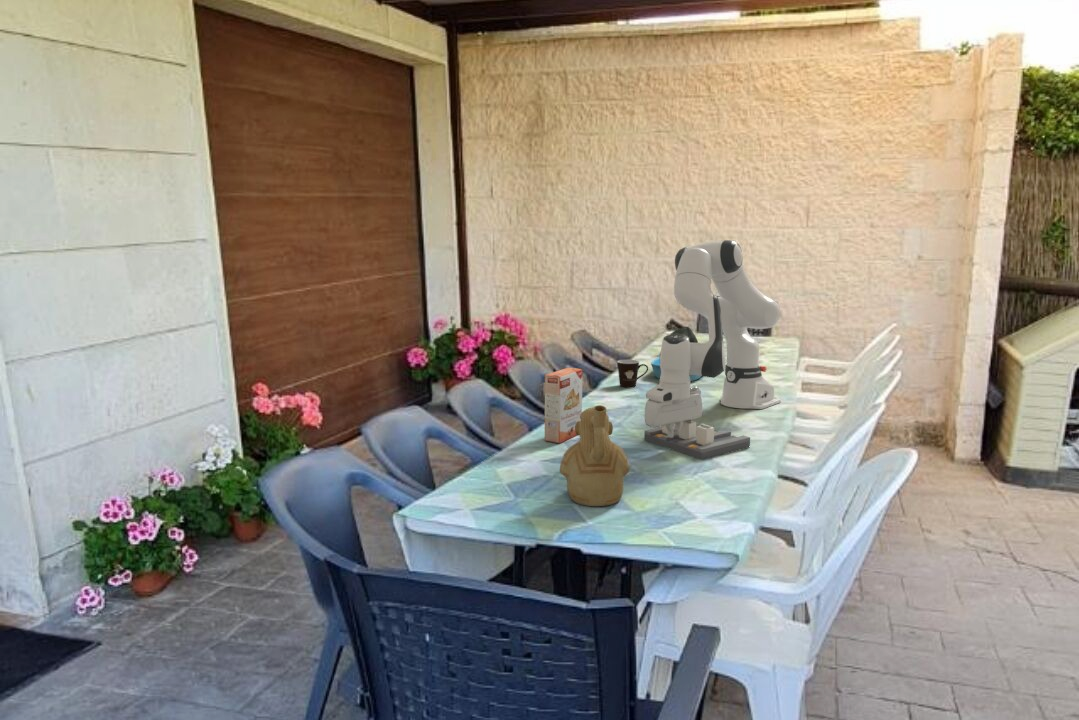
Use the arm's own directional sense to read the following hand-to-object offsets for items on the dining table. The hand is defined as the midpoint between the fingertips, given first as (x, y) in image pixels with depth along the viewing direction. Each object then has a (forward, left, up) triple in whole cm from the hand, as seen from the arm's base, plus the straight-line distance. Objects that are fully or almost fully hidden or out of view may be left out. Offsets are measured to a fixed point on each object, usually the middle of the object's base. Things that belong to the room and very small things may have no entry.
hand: (673, 436), depth 231 cm
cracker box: (+19, -29, -4) cm, 35 cm away
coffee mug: (-45, -71, -4) cm, 84 cm away
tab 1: (-5, -7, -2) cm, 9 cm away
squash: (-109, -108, -4) cm, 154 cm away
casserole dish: (-78, -76, -4) cm, 109 cm away
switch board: (-9, 0, -4) cm, 10 cm away
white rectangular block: (-6, 0, -2) cm, 6 cm away
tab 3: (-6, +7, -2) cm, 9 cm away
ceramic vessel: (+44, +18, -4) cm, 48 cm away
